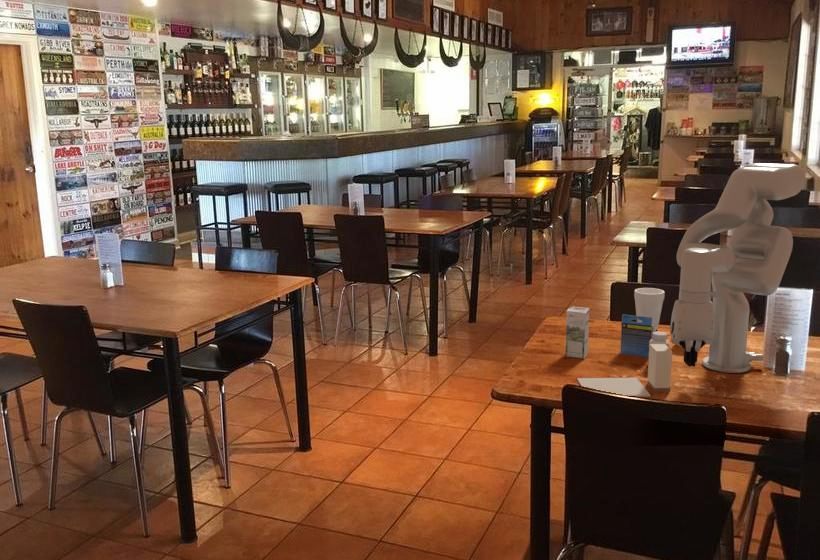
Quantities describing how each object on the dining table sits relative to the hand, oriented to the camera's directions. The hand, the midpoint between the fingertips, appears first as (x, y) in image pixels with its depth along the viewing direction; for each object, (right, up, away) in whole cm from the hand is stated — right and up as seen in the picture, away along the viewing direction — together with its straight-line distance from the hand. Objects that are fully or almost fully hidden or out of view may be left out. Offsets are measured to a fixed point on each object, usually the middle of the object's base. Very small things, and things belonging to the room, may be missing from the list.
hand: (690, 364), depth 194 cm
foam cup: (+6, +6, +54) cm, 55 cm away
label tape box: (-5, 0, +29) cm, 29 cm away
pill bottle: (-2, -3, +18) cm, 18 cm away
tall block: (-8, -6, +2) cm, 10 cm away
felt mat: (-20, -6, +2) cm, 21 cm away
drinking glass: (+13, +2, +37) cm, 39 cm away
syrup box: (-23, -1, +28) cm, 37 cm away
